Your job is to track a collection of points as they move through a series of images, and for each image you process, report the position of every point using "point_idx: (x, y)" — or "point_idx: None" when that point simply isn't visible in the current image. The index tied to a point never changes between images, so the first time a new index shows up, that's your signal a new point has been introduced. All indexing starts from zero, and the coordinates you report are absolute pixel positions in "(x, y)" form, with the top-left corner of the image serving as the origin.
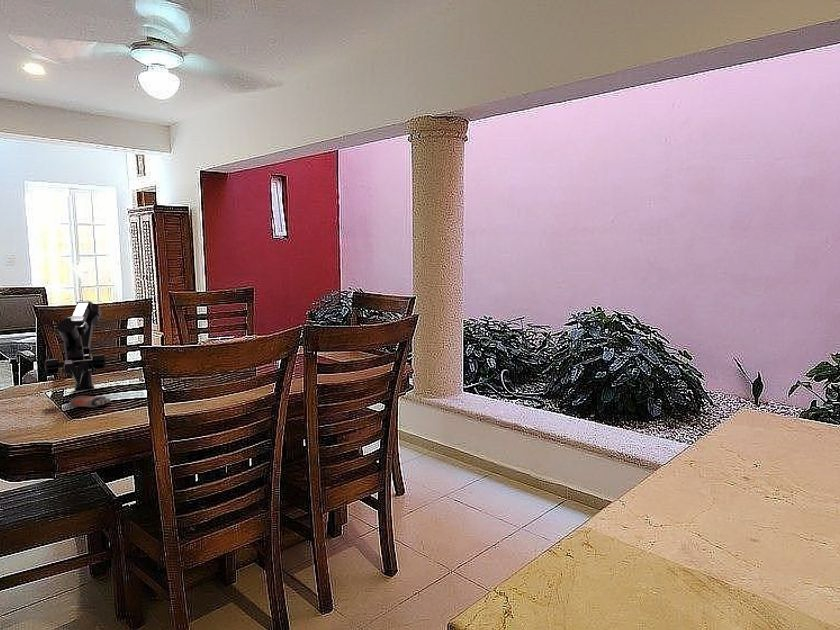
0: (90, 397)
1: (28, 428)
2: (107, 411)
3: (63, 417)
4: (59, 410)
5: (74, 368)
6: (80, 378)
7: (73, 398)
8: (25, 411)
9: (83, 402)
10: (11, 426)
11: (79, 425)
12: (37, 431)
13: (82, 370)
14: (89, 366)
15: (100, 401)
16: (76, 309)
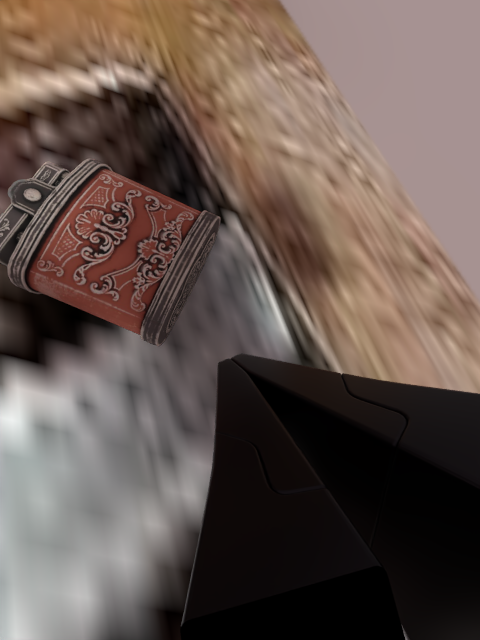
0: (101, 221)
1: (265, 50)
2: (12, 135)
3: (198, 120)
4: (259, 232)
5: (418, 438)
6: (220, 379)
7: (208, 227)
8: (398, 263)
9: (137, 183)
10: (329, 89)
11: (104, 9)
12: (224, 13)
13: (213, 477)
14: None
15: (35, 179)
16: None
